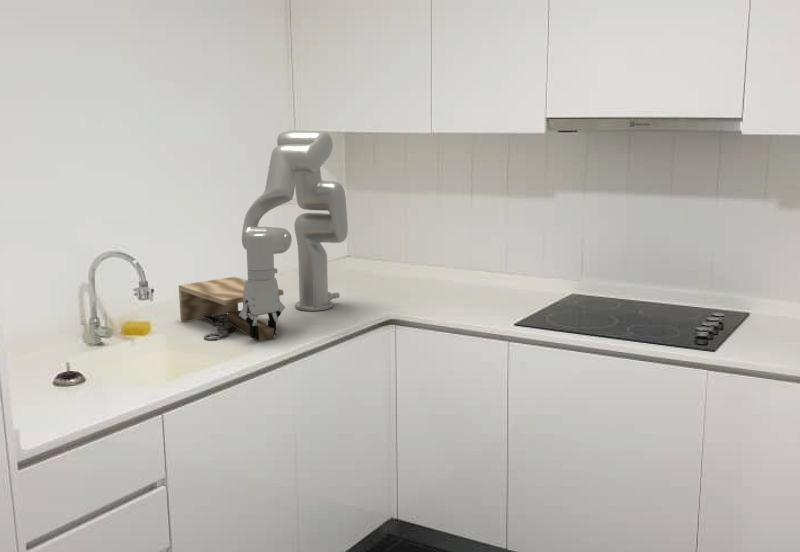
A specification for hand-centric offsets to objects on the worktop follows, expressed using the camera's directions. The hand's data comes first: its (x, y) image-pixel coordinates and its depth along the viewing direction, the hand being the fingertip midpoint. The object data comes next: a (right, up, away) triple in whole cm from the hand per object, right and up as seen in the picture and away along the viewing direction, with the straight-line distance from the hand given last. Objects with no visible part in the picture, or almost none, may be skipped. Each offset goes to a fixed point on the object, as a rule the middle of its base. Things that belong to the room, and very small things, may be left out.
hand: (263, 335), depth 239 cm
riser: (-13, +2, +17) cm, 21 cm away
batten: (-4, +3, +10) cm, 11 cm away
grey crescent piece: (-16, +1, +12) cm, 20 cm away
